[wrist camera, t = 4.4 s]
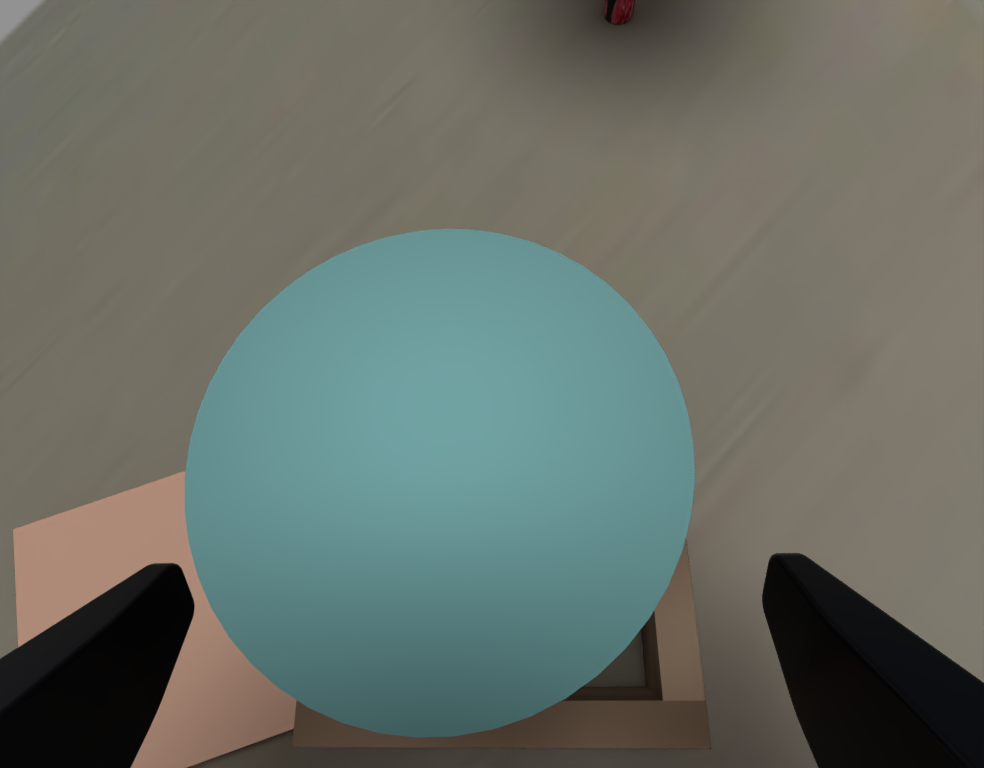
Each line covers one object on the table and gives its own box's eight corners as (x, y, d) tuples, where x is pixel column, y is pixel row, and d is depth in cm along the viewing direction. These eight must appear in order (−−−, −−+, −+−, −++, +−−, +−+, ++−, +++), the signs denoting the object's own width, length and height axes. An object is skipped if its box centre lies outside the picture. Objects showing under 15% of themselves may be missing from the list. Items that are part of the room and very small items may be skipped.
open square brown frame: (688, 728, 16) (711, 748, 14) (322, 727, 16) (291, 747, 14) (650, 378, 19) (664, 352, 17) (348, 388, 20) (326, 364, 18)
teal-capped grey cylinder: (460, 678, 17) (296, 864, 5) (378, 503, 18) (123, 361, 7) (629, 577, 17) (808, 548, 6) (532, 418, 19) (527, 159, 8)
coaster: (329, 713, 16) (319, 719, 16) (50, 815, 16) (26, 826, 15) (274, 450, 19) (263, 444, 18) (34, 532, 19) (13, 529, 18)
